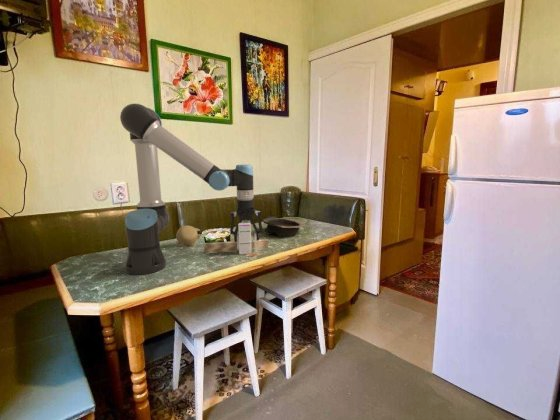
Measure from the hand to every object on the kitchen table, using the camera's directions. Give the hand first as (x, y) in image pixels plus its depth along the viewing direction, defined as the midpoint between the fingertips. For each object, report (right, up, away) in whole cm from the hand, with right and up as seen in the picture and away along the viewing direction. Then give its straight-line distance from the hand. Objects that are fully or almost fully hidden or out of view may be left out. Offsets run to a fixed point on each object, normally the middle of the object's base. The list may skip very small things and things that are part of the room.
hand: (246, 247), depth 141 cm
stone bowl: (+18, +4, +34) cm, 38 cm away
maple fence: (-5, -2, 0) cm, 5 cm away
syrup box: (-1, -2, +1) cm, 3 cm away
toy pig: (-30, -1, +12) cm, 33 cm away
